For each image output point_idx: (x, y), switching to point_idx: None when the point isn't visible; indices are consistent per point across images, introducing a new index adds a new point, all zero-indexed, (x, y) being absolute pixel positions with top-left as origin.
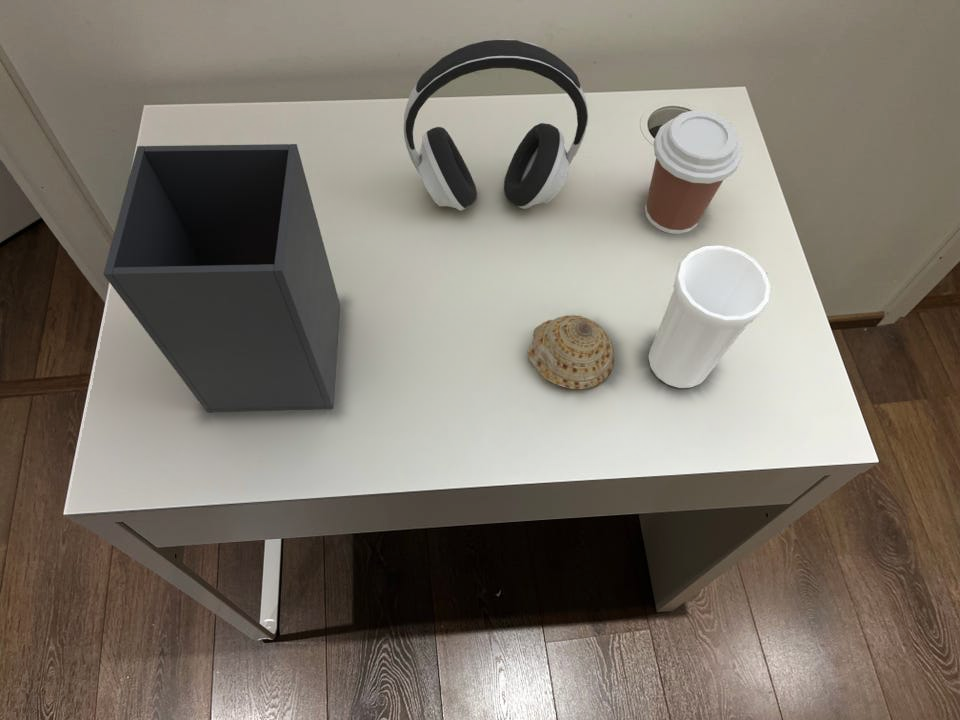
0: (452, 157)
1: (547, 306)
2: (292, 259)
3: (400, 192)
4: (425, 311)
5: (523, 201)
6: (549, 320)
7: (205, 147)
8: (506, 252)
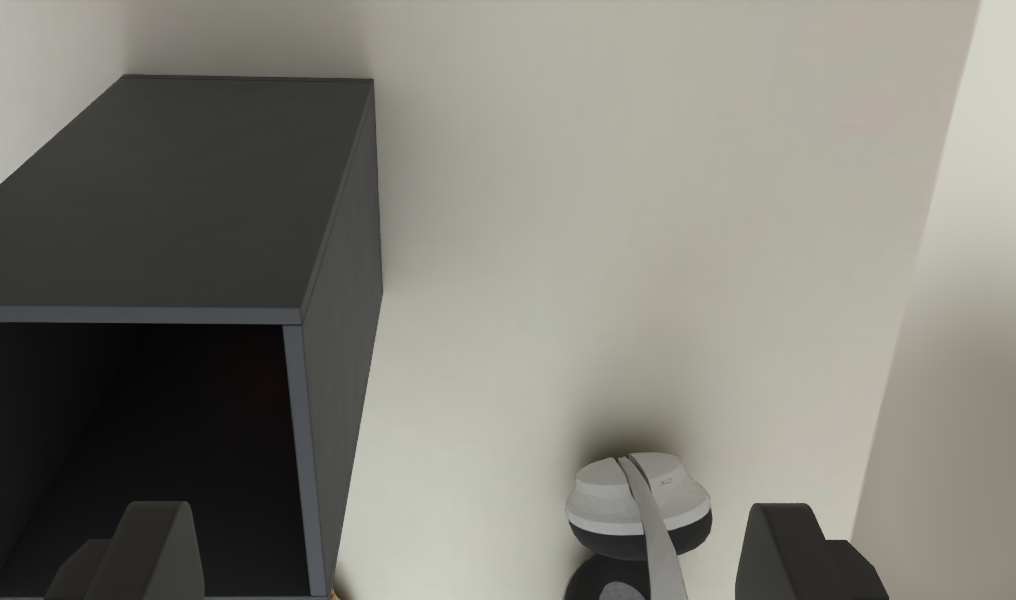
0: (616, 558)
1: (383, 579)
2: None
3: (649, 386)
4: (370, 423)
5: (567, 592)
6: (335, 597)
7: (305, 451)
8: (493, 535)
